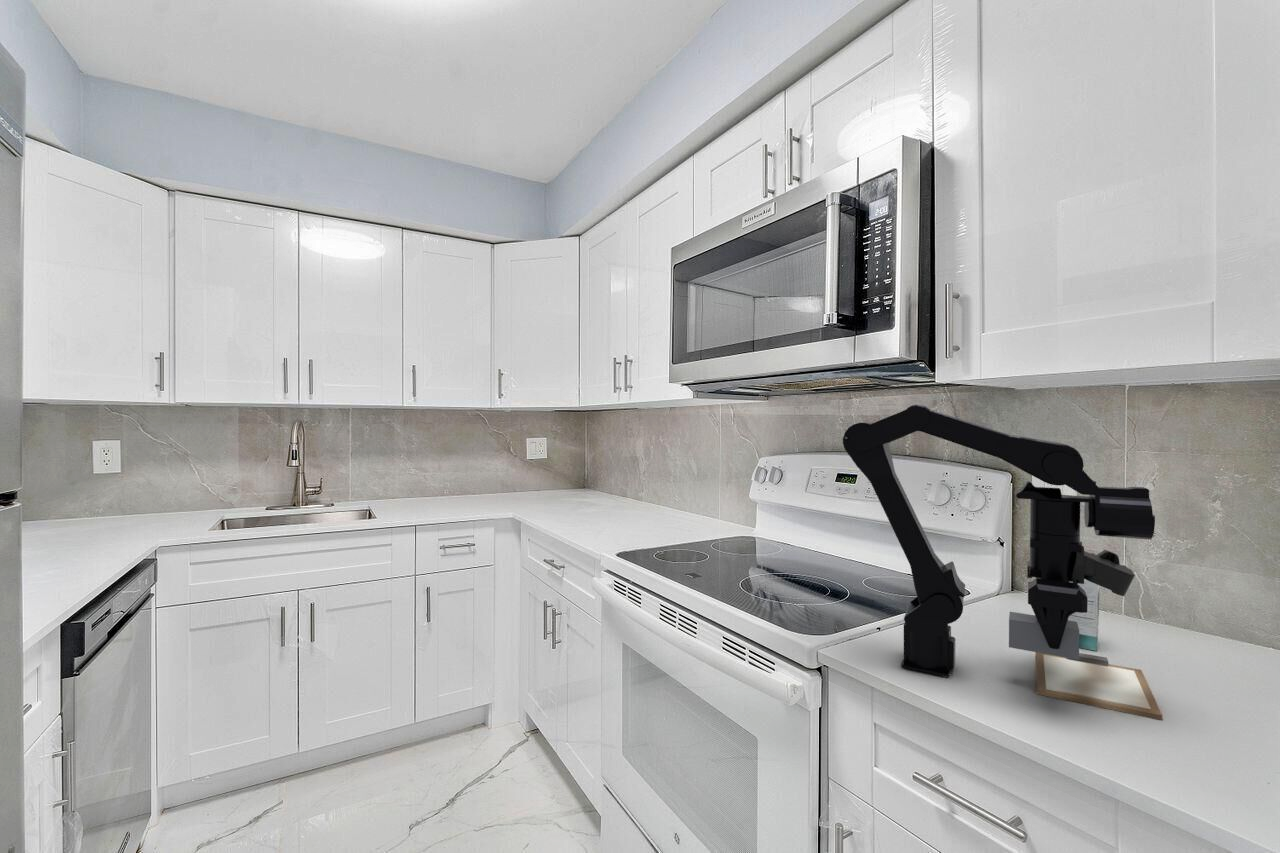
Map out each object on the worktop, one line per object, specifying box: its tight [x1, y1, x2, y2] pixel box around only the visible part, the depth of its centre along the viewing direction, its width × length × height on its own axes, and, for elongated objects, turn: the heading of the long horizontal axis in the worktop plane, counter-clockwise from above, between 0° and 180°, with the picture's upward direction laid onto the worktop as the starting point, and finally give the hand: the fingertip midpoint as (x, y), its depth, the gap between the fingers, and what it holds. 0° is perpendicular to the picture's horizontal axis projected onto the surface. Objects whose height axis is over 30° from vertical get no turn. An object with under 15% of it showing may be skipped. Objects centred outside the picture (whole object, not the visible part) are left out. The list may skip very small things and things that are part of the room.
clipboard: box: [1035, 652, 1164, 721], centre depth 84 cm, size 13×16×2 cm
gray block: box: [1008, 611, 1098, 660], centre depth 82 cm, size 10×4×4 cm, turn 57°
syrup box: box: [1068, 579, 1101, 651], centre depth 99 cm, size 6×6×14 cm
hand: (1053, 643), depth 82 cm, fingers closed on gray block, 4 cm apart
